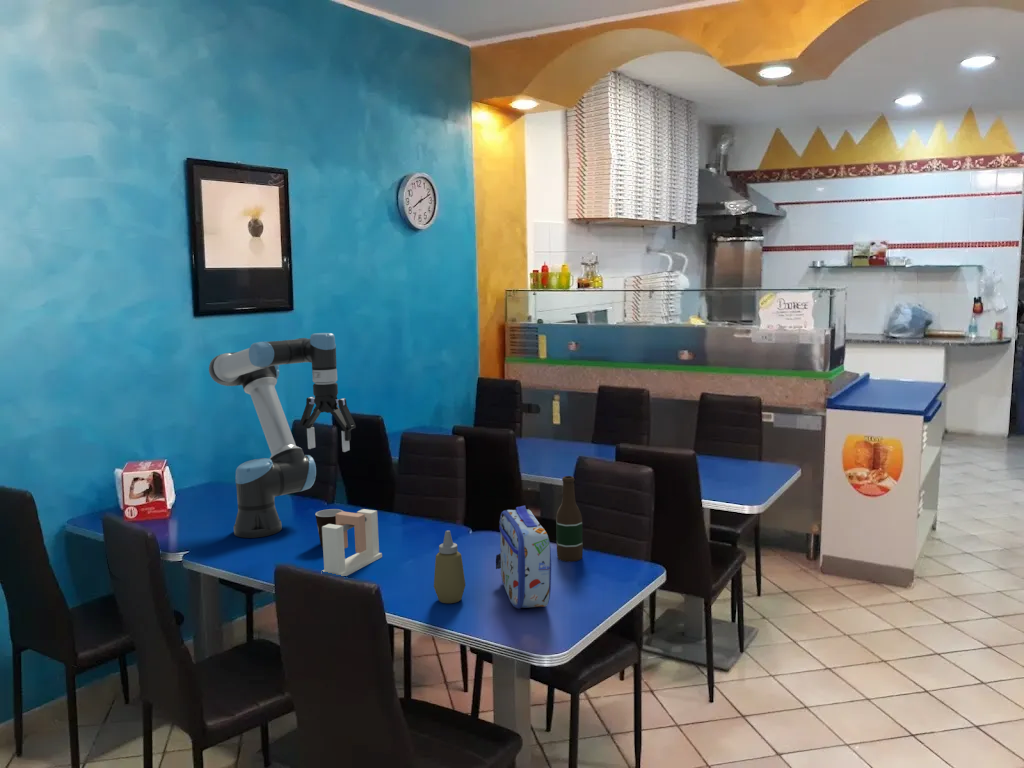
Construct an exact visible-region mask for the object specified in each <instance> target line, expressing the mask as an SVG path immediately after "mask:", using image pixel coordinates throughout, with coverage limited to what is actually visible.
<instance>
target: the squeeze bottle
mask: <svg viewBox="0 0 1024 768" xmlns="http://www.w3.org/2000/svg"><path fill="white" fill-rule="evenodd" d="M434 561H435V562H434V579H433V588H434V589H433V590H434V591H435V594H436V596H437V597H436V598H437V599H438V601H439V602H440V603H443V604H455V603H458V602H459V601H460V602H461V600H462V598H463V595H464V592H465V588H466V578H465V573H464V565H463V556H462V553H460V552H459V551H458V544H457V543H456V542H453V538H452V533H451V530H445V532H444V536H443V543H441V544H439V545H438V553H437V554H436V555H435V560H434Z"/></svg>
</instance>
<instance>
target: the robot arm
mask: <svg viewBox="0 0 1024 768" xmlns="http://www.w3.org/2000/svg"><path fill="white" fill-rule="evenodd" d="M301 363H311V370H312V372H311V373H312V375H311V376H312V382H313V383H314V384H313V385H312V389H313V396H310V397H306V400H305V403H306V404H305V407H304V410H303V413H302V416H301V418H300V422H299V425H300V427H301V426H302V427H304V429H305V437H306V439H307V449H308V450H311V449H314V448H316V433H315V427H314V424H315V422H316V421H317V419H318V418H319V416H320V415H321V413H328V414H329V413H330V414H331V415H332V416H333V417H334V418H335V421H337V423H338V424H339V426H340V427H341V428H342V430H341V448H342V452H343V453H346V452H348V451H350V450H351V449H350V448H351V447H350V441H351V439H352V434H351V433H352V432H351V431H352V430H353V429H356V427H357V426H356V422H355V420H354V418H353V417H352V414H351V411H350V410H349V407H348V404H347V399H346V398H345V397H344V398H339V399H338V394H339V387H338V386H339V385H338V383H337V381H338V370H337V369H338V368H337V366H338V365H337V344H336V337H335V334H334V333H331V332H317V333H315V332H314V333H312V334H310V338H307V337H299V338H296V339H295V338H294V339H285V340H274V341H271V340H270V341H264V340H263V341H258V342H253V343H252V344H250V347H248V348H245V349H242V350H239V351H235V352H234V351H233V352H225V353H221V354H218V355H216V356H215V357H213V358H212V359H211V361H210V362H209V367H208V372H209V375H210V377H211V379H212V380H213V381H214V382H215V383H217V384H219V385H221V386H225V387H234V386H235V387H237V386H242V389H243V391H244V393H245V394H248V395H250V398H251V400H252V403H253V406H254V409H255V412H256V414H257V418H258V420H259V423H260V425H261V428H262V432H263V434H264V436H265V440H266V443H267V446H268V448H269V452H270V454H271V455H270V457H269V458H267V457H266V458H265V457H262V458H261V457H260V458H255V459H251V460H247V461H245V462H243V463H241V464H239V465H238V466H237V467H236V469H235V481H234V482H235V485H236V486H235V488H236V499H237V514H236V517H235V523H234V525H233V534H234V536H235V537H237V538H244V539H255V538H265V537H268V536H272V535H275V534H277V533H280V532H281V530H282V526H283V525H282V520H281V519H280V517H279V514H278V512H277V511H278V510H277V508H276V504H275V503H276V502H275V498H276V497H279V496H285V495H290V494H294V493H300V492H303V491H306V490H309V489H311V488H312V486H314V484H315V481H316V476H317V467H316V466H317V465H316V462H315V459H314V457H312V456H311V455H310V454H304V450H303V448H301V447H299V446H297V445H296V441H295V439H294V437H293V434H292V431H291V429H290V425H289V422H288V420H287V416H286V415H285V412H284V409H283V406H282V403H281V401H280V398H279V396H278V392H277V389H276V385H277V383H278V378H279V376H280V370H279V369H280V365H291V364H292V365H293V364H301ZM314 406H315V407H314Z"/></svg>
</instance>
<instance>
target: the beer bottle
mask: <svg viewBox="0 0 1024 768" xmlns="http://www.w3.org/2000/svg"><path fill="white" fill-rule="evenodd" d="M561 480H562V497H561V498H562V499H561V504H560V506H559V507H558V508H557V512H556V518H555V522H556V523H555V525H556V526H555V530H556V533H555V534H556V555H557V559H558V560H559V561H562V562H565V563H567V562H568V563H571V562H579V561H580V560H582V559H583V555H584V554H583V553H584V551H583V550H584V549H583V548H584V547H583V546H584V545H583V540H584V539H583V516H582V513H581V511H580V508H579V506H578V505H577V501H576V494H575V491H576V490H575V477H574V476H573V475H566V476H565V475H564V476H562V479H561Z"/></svg>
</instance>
